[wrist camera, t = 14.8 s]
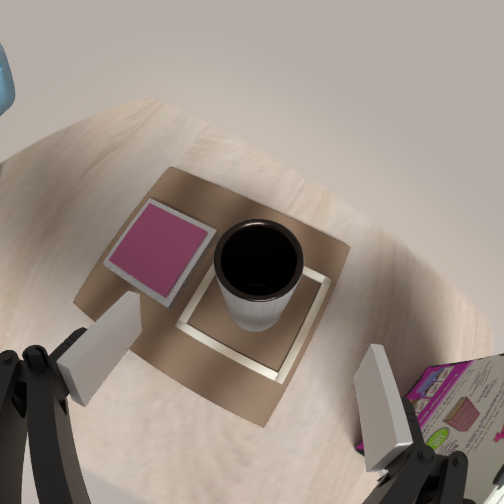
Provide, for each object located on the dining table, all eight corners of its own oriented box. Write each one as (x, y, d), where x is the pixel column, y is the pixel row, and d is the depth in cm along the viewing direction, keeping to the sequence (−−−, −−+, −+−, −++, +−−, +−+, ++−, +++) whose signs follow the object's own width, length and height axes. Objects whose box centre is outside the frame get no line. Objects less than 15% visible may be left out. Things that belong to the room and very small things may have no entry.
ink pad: (107, 268, 24) (100, 262, 23) (153, 204, 27) (148, 196, 26) (171, 310, 23) (166, 306, 21) (218, 236, 26) (216, 228, 24)
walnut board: (77, 304, 24) (71, 301, 22) (171, 172, 30) (169, 165, 29) (263, 425, 20) (264, 428, 19) (347, 251, 26) (351, 246, 25)
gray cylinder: (258, 269, 24) (264, 202, 15) (293, 308, 23) (323, 262, 13) (217, 301, 23) (194, 251, 14) (251, 343, 22) (252, 322, 12)
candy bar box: (379, 475, 17) (493, 537, 2) (351, 448, 18) (472, 516, 3) (451, 392, 20) (578, 376, 5) (429, 363, 21) (564, 329, 6)
